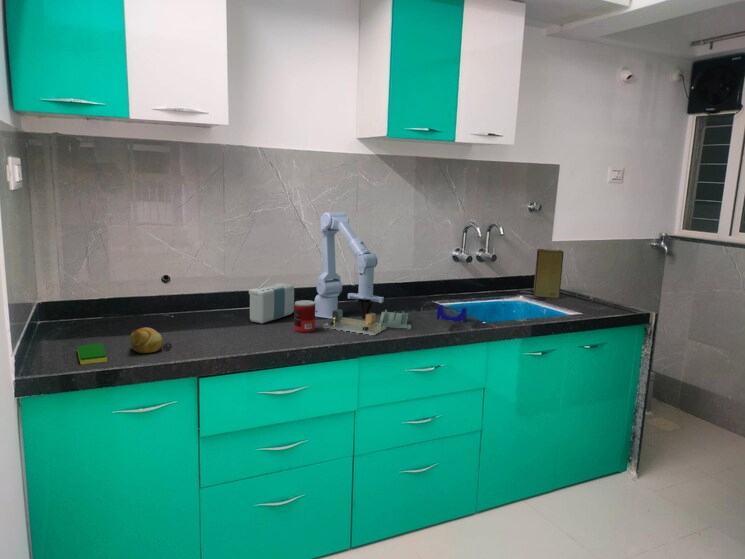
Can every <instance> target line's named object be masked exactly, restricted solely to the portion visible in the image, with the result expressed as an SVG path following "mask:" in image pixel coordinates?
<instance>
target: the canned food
mask: <svg viewBox="0 0 745 559" xmlns="http://www.w3.org/2000/svg"><path fill="white" fill-rule="evenodd" d="M314 301H315V300H314ZM314 301H313V300H307V299H306V300H305V299H301V300H296V301H294V321H293V322H294V324H293V325H294V331H295V332H296V333H299V332H300V334H309V333H308V332H310V333H313V332H315V329H316V316H315V302H314Z"/></svg>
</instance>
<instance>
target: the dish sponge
mask: <svg viewBox="0 0 745 559" xmlns="http://www.w3.org/2000/svg"><path fill="white" fill-rule="evenodd" d="M77 355H78V360H79V364H80V365H82V366H84V365H91V364H99V363H107V362H108V357H107V353H106V349H105V348H104V345H103V343H95V344H93V343H92V344H86V345H83V344H82V345H78V346H77Z"/></svg>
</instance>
